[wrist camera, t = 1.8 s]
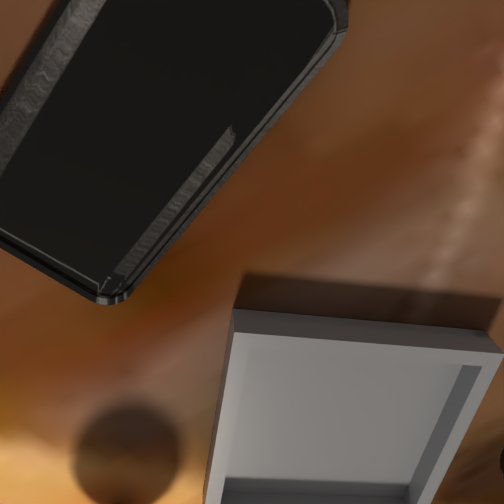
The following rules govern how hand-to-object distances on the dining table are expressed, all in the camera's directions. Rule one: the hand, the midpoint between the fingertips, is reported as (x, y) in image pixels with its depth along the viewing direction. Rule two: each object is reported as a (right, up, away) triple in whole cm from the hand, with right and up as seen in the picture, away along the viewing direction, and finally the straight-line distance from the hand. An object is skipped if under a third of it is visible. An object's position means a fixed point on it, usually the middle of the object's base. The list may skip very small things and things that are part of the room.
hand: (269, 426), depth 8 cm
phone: (-4, +8, +10) cm, 13 cm away
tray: (+4, -6, +17) cm, 18 cm away
